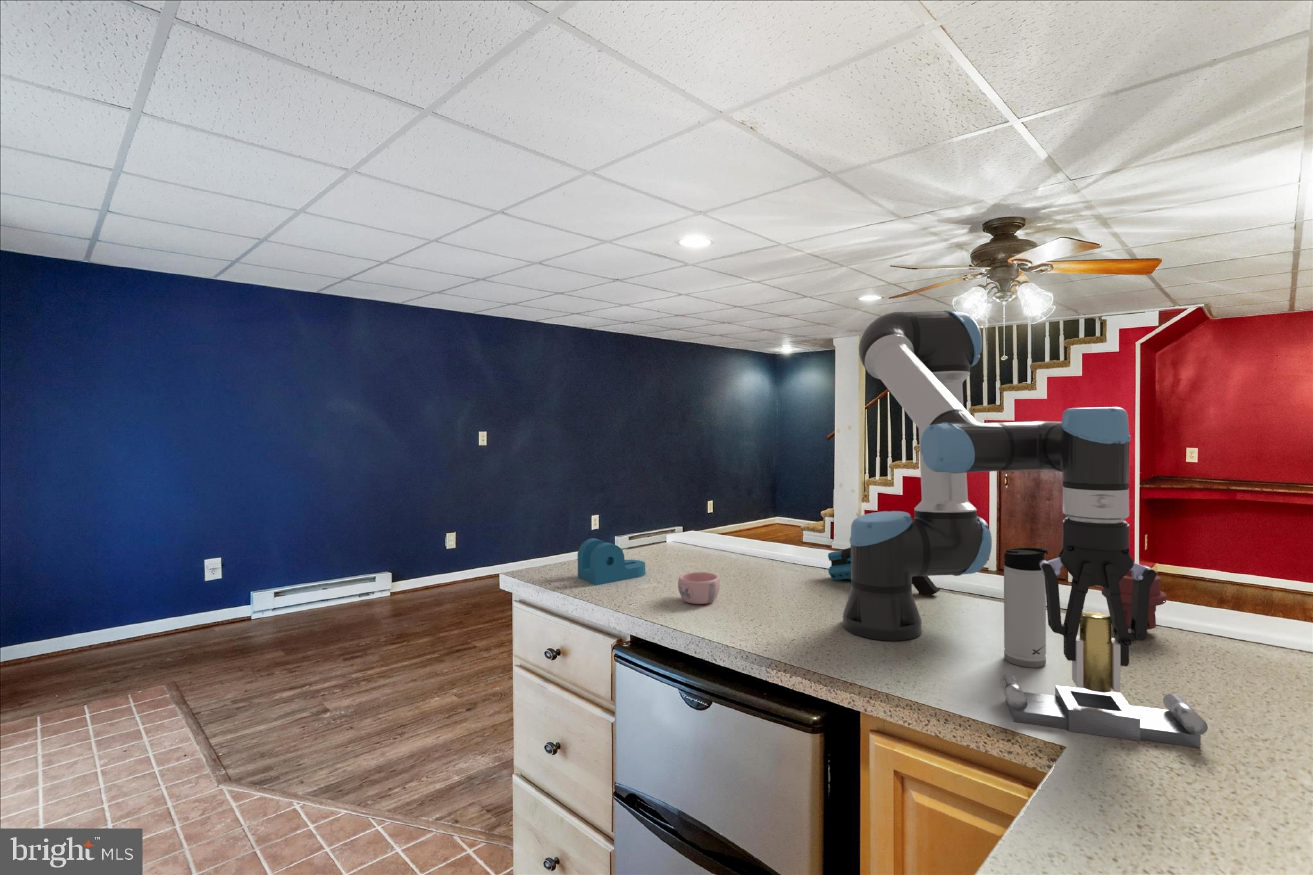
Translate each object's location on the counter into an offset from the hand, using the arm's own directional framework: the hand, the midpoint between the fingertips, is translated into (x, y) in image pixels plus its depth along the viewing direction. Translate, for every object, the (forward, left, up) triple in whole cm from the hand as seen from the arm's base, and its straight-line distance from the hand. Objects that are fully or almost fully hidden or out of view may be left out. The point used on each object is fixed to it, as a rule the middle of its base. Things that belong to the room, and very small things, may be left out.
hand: (1095, 685), depth 86 cm
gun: (-30, +64, -6) cm, 71 cm away
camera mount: (-100, +53, -6) cm, 113 cm away
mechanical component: (+17, +44, -5) cm, 48 cm away
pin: (0, 0, 0) cm, 0 cm away
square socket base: (0, 0, -5) cm, 5 cm away
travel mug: (-5, +21, -5) cm, 22 cm away
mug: (-71, +38, -6) cm, 81 cm away
